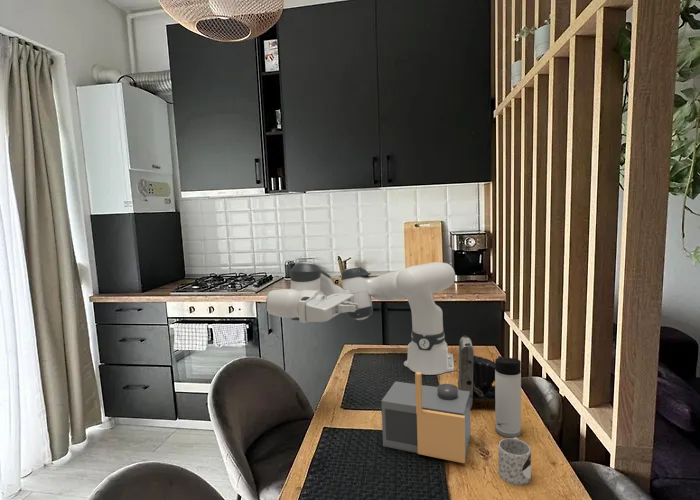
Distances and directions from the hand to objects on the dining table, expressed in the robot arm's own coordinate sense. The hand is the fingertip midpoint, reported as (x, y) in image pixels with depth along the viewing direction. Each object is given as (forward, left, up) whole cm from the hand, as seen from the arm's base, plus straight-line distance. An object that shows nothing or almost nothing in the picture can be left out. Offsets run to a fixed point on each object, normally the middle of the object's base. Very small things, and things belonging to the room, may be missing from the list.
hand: (356, 307), depth 116 cm
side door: (+14, +26, -31) cm, 43 cm away
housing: (+7, +21, -32) cm, 39 cm away
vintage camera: (-18, +33, -32) cm, 50 cm away
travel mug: (-4, +40, -32) cm, 52 cm away
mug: (+12, +42, -32) cm, 54 cm away
